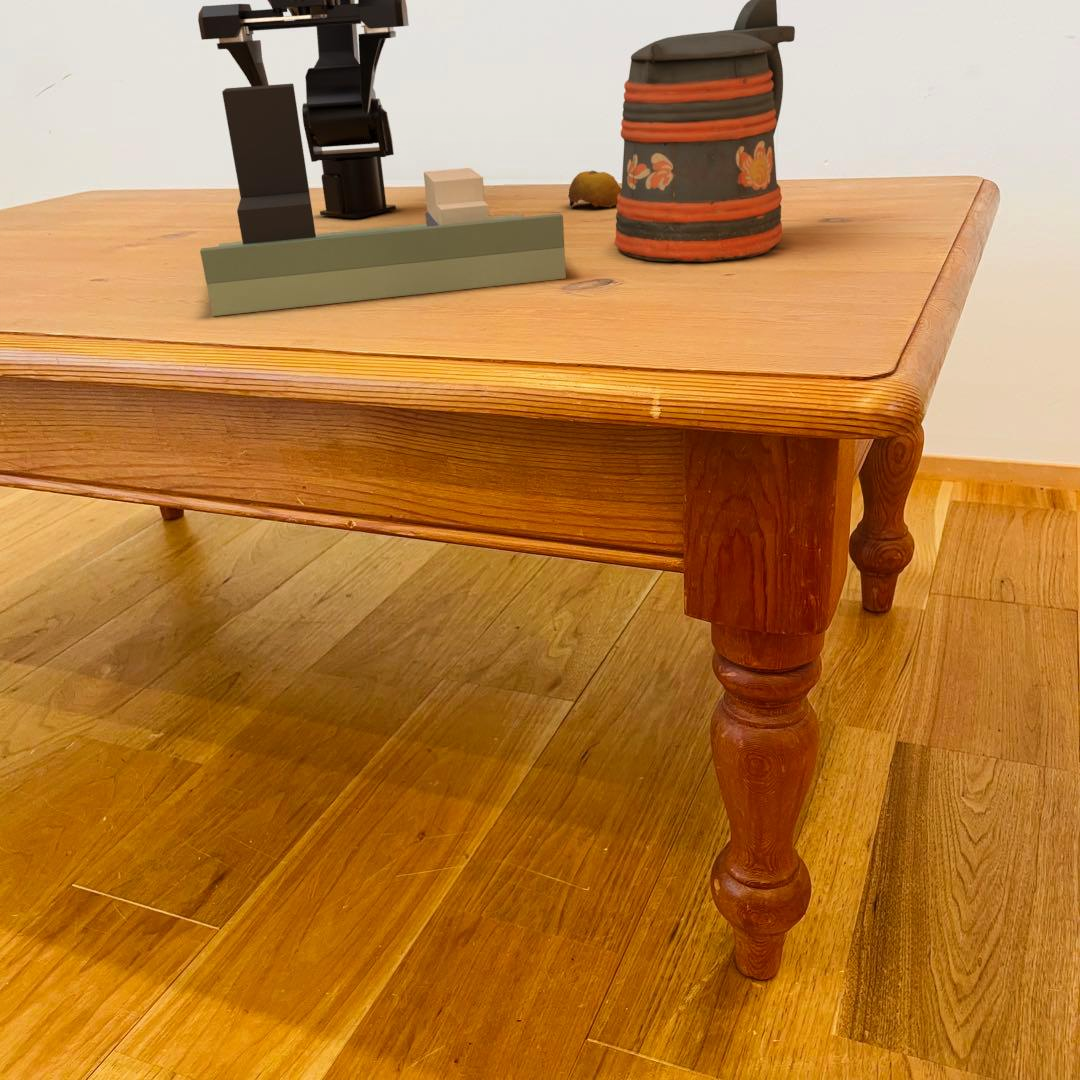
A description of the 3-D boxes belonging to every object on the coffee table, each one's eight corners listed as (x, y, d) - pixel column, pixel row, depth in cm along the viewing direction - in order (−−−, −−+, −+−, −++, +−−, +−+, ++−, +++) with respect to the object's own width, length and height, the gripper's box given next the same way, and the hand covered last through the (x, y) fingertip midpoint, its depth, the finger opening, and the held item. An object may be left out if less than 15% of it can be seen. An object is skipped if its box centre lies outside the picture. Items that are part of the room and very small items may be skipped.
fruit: (653, 200, 120) (653, 166, 119) (607, 212, 115) (606, 176, 113) (596, 196, 126) (595, 163, 124) (549, 208, 120) (547, 173, 119)
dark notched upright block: (253, 249, 94) (225, 88, 88) (316, 243, 95) (293, 83, 89) (248, 277, 83) (216, 95, 77) (320, 269, 84) (294, 89, 78)
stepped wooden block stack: (427, 228, 98) (421, 171, 96) (475, 223, 99) (470, 166, 97) (441, 247, 89) (435, 185, 87) (494, 242, 90) (489, 180, 88)
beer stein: (698, 219, 108) (699, -3, 99) (833, 228, 99) (848, -14, 91) (583, 255, 95) (572, 3, 87) (727, 269, 87) (731, -8, 78)
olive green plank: (224, 271, 99) (213, 215, 96) (522, 241, 103) (519, 186, 101) (212, 316, 83) (199, 250, 80) (566, 278, 87) (563, 215, 85)
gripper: (404, -69, 105) (421, 103, 111) (213, -57, 105) (242, 115, 112) (392, -78, 95) (412, 112, 101) (181, -64, 95) (215, 125, 102)
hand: (319, 116), depth 104 cm, fingers open, 9 cm apart
